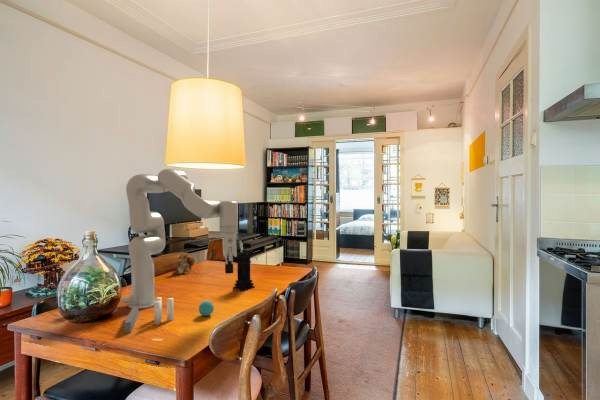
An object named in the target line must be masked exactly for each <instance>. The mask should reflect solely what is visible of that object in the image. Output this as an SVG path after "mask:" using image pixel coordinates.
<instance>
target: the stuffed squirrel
mask: <svg viewBox="0 0 600 400" xmlns="http://www.w3.org/2000/svg"><path fill="white" fill-rule="evenodd" d="M176 261H178V262H177V263H176V264H175V267H176V270H174V271H173V272H172V273H171V274H172V275H179V274H180V275H185V276H187V275H189V274H190V273H191V271H192V268H193V266H194V264H195V263H196V259H195V258H194V257H193V256H190V253H185V252H180V253H179V257H178V258H177V259H176Z"/></svg>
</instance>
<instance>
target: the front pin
mask: <svg viewBox="0 0 600 400" xmlns="http://www.w3.org/2000/svg"><path fill="white" fill-rule="evenodd" d="M174 312H175V311H174V297H168V298H167V299H166V316H167V317H166V321H168V322H171V321H174V317H175V316H174V314H175V313H174Z"/></svg>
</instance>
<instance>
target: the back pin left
mask: <svg viewBox="0 0 600 400" xmlns="http://www.w3.org/2000/svg"><path fill="white" fill-rule="evenodd" d="M155 301H161V320H162V319H163V298H162V297H161V296H160V297H159V296H158V297H155Z"/></svg>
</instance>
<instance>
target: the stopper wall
mask: <svg viewBox="0 0 600 400" xmlns="http://www.w3.org/2000/svg"><path fill="white" fill-rule="evenodd" d="M138 318H139V309H138V306H137V307H133V308H131V309H130V312H129V313H128V315H127V318H126V319H125V321H124V322H123V323H124V334H125V333H127V334H131V333H132V331H133V329H134V327H135V324H136V322H137V320H138Z"/></svg>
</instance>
